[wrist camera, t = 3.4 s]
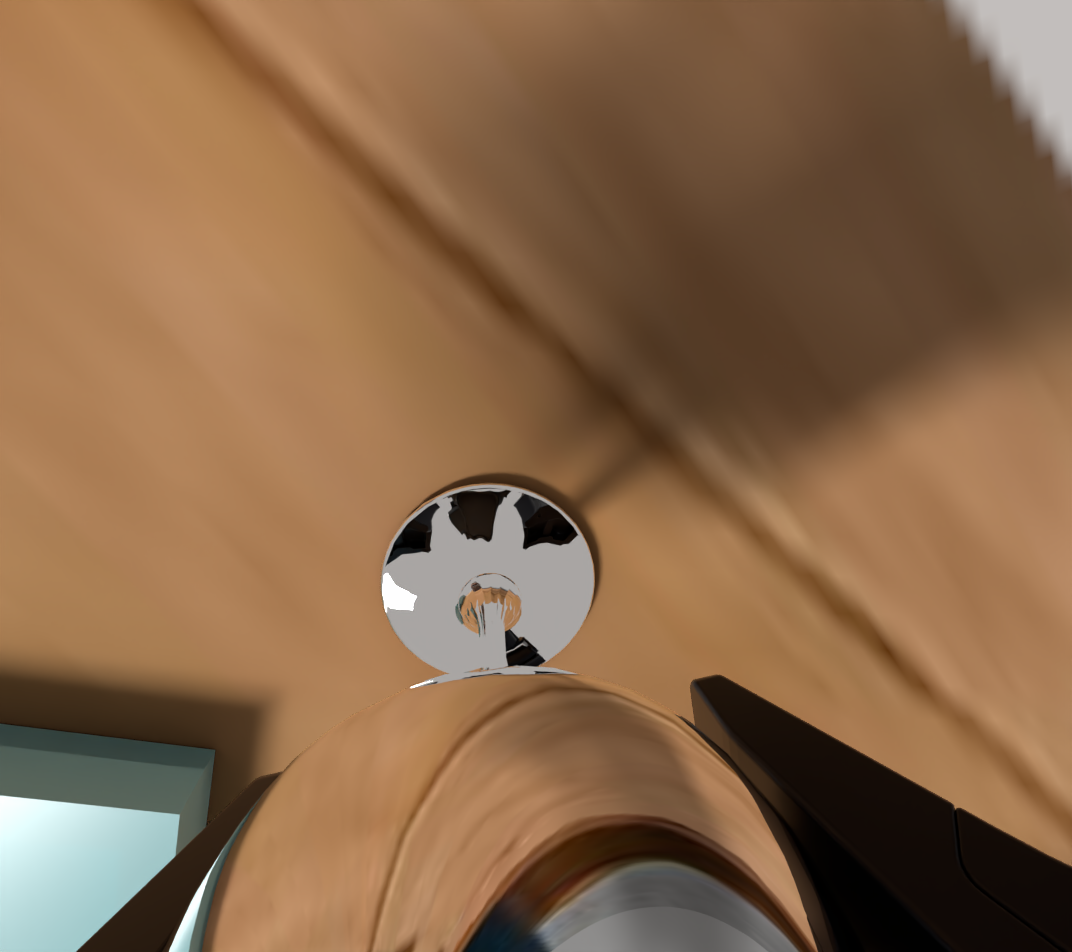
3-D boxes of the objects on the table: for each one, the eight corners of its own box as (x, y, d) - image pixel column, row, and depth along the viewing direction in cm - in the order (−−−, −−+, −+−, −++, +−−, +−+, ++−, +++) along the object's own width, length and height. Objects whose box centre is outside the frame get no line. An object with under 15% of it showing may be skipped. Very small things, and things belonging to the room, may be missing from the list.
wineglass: (573, 408, 13) (1584, 1631, 1) (658, 648, 14) (1404, 2105, 3) (297, 512, 13) (-1335, 2649, 1) (414, 739, 14) (188, 2518, 3)
